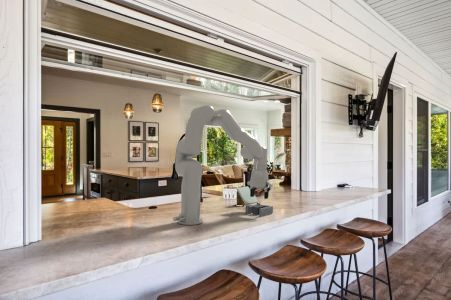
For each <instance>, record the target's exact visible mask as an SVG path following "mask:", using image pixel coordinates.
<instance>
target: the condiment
mask: <svg viewBox="0 0 451 300" xmlns="http://www.w3.org/2000/svg"><path fill="white" fill-rule="evenodd" d="M240 187H241V186H240ZM240 187H239V186H238V187H237V188H240ZM236 205H245V203H244V202H243V200H242V198H241V196H240V194H239V192H238V191H237V190H236Z"/></svg>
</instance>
